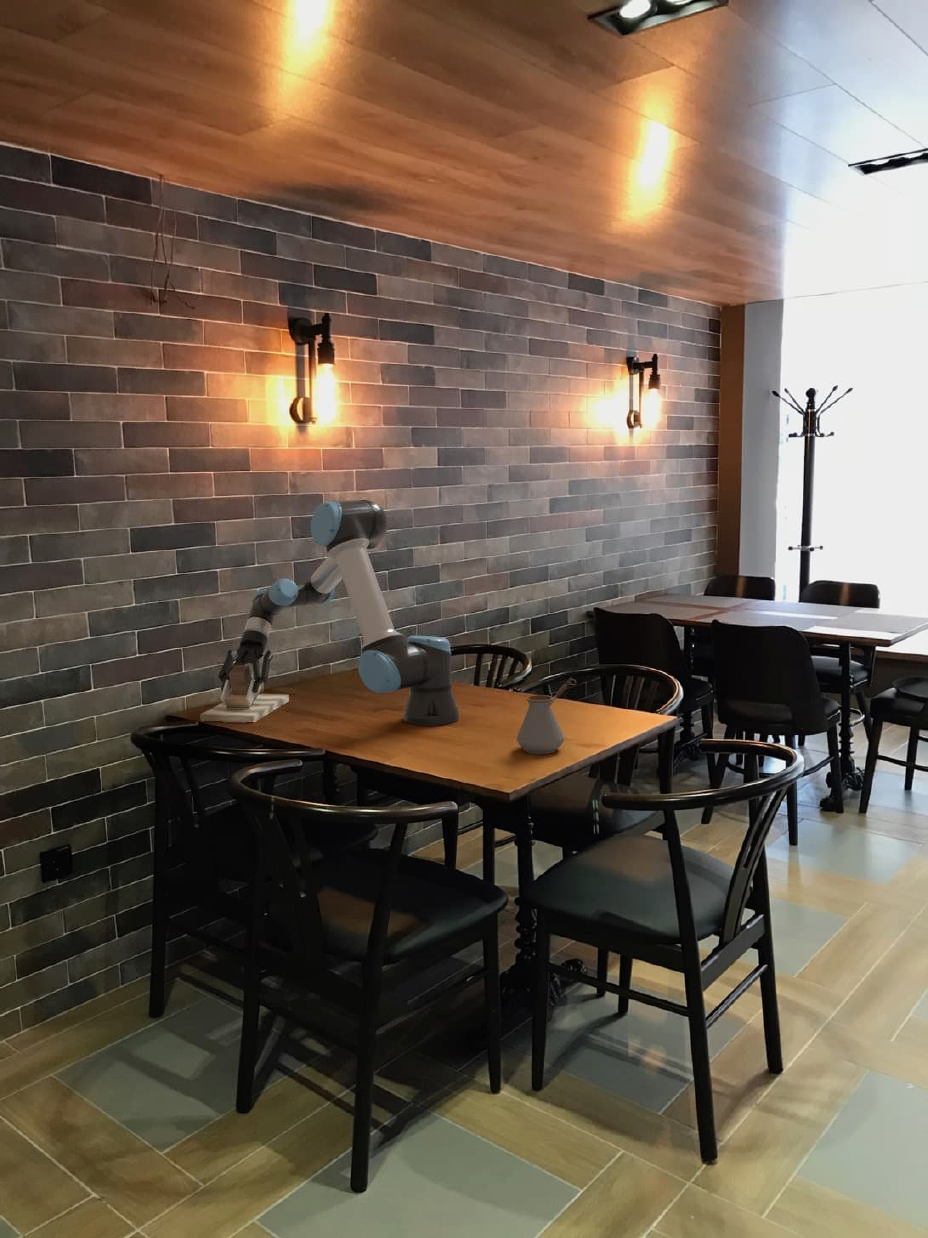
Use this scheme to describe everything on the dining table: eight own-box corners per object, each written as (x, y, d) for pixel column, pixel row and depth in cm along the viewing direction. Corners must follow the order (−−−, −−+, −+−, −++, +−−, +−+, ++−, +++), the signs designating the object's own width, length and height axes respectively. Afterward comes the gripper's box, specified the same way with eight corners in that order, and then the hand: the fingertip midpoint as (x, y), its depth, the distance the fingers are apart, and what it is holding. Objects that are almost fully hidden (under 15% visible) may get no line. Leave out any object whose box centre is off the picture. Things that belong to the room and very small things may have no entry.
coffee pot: (547, 759, 228) (546, 696, 226) (507, 751, 235) (506, 691, 233) (593, 738, 245) (593, 679, 243) (554, 732, 252) (553, 675, 250)
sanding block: (239, 688, 291) (234, 660, 287) (262, 688, 290) (256, 660, 285) (226, 708, 281) (220, 679, 277) (249, 708, 280) (243, 679, 276)
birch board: (240, 700, 300) (239, 693, 300) (289, 701, 297) (288, 694, 296) (200, 721, 275) (200, 714, 275) (253, 722, 272) (253, 715, 271)
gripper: (290, 643, 293) (272, 709, 280) (229, 643, 297) (208, 707, 284) (283, 628, 287) (264, 695, 274) (220, 628, 292) (198, 694, 278)
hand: (235, 701), depth 279 cm, fingers closed on sanding block, 7 cm apart
